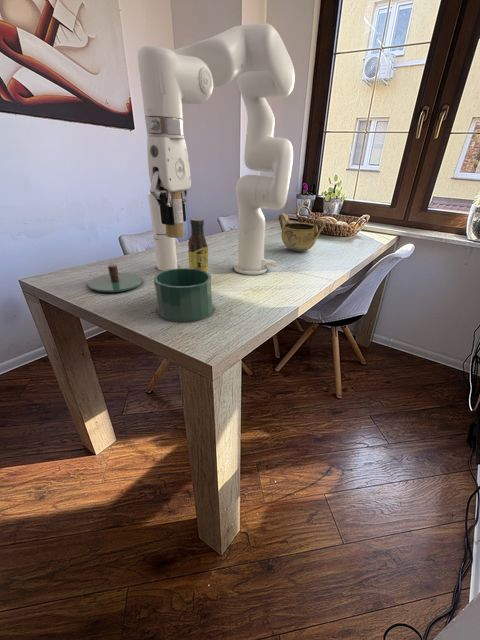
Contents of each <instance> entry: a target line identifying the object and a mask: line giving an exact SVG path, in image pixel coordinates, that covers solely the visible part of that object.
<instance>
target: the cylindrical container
mask: <svg viewBox="0 0 480 640" xmlns="http://www.w3.org/2000/svg"><path fill="white" fill-rule="evenodd" d="M147 197H148V205H149V213H150V220H151V226H152V227H151V228H152V235H153V236H152V237H153V243H154V250H155V258H156V267H157V270H159V271H166V270H169V269H176V268H178V257H177V247H176V238H171V237H167V236H166V227H165V224H162V222H161V213H160V206H159V205H158V201H157V200H156V199H155V197H154V196H153V195H152V194H151V193H150V191H149V192H147Z"/></svg>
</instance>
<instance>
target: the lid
mask: <svg viewBox="0 0 480 640" xmlns="http://www.w3.org/2000/svg"><path fill="white" fill-rule="evenodd" d="M107 269H108V273H106V274H102V275H97V276H96V277H95V276H94V277H93V278H91V279H90V280H89V281H88V283H87V285H88V288H89V289H90V290H93V291H95V292H100V293H119V292H124V291H128V290H132V289H135V288H138V287H139V286H140V285H141V284H142V283H143V279H142V277H141V276H140V275H138V274H134V273H129V272H119V269H118V265H117V264H114V263H113V264H111V263H110V264H109V265H107Z"/></svg>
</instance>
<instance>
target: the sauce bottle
mask: <svg viewBox="0 0 480 640" xmlns="http://www.w3.org/2000/svg"><path fill="white" fill-rule="evenodd" d="M189 222H190V227H191V230H190V231H191V232H190V234H191V235H190V237H189V239H188V243H187V246H188V247H187V248H188V250H187V251H188V252H187V253H188V268H191V269H198V270H203V271H205V272H207V273H209V246H208V244H207V240H206V237H205V232H204V225H205V220H204V219H203V218H195V217H194V218H190V221H189Z"/></svg>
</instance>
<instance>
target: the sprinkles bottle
mask: <svg viewBox="0 0 480 640" xmlns="http://www.w3.org/2000/svg"><path fill="white" fill-rule="evenodd" d="M162 190H167V189H164V187H162ZM164 196H165V197H166V194H164ZM171 206H173V211H174V221H175V224H174V225H166V224H165V227H166V236H167V237H171V238H175V239H178V238H183V237H185V228H184V222H183V210H182V198H181V191H176V192H171Z"/></svg>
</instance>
